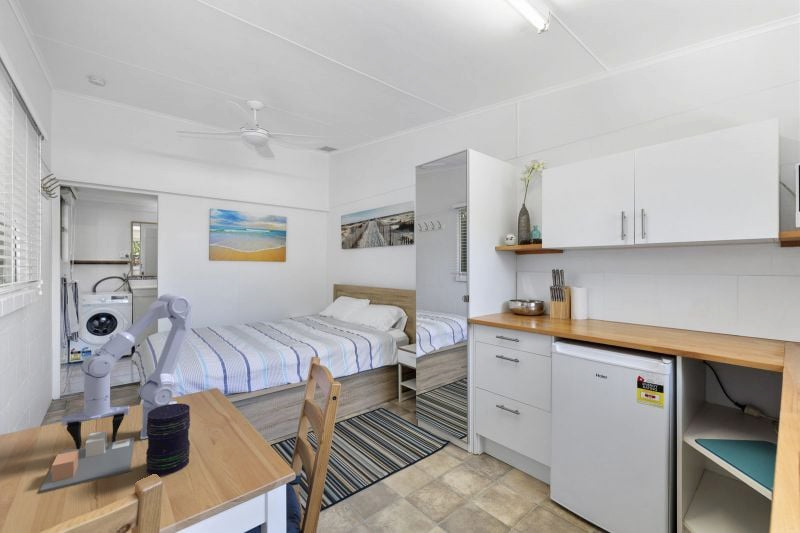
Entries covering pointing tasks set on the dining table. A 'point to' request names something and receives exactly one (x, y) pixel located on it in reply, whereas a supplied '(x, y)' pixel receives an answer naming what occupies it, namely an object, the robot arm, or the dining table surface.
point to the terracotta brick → (64, 466)
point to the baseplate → (96, 465)
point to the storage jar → (168, 439)
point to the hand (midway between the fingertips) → (96, 444)
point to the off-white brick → (96, 443)
